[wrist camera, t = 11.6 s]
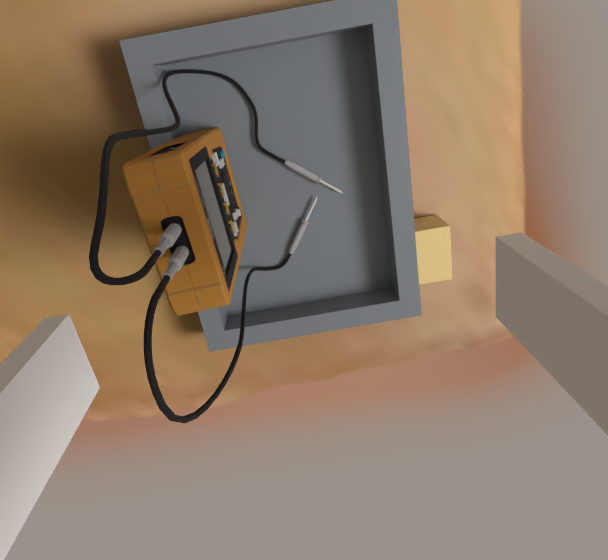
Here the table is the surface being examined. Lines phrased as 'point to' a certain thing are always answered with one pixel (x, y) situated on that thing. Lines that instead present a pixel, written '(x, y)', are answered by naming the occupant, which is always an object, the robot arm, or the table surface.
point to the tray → (304, 162)
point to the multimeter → (187, 225)
